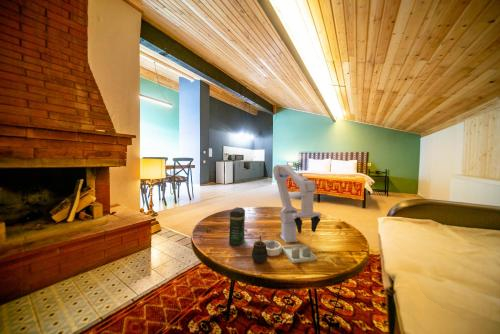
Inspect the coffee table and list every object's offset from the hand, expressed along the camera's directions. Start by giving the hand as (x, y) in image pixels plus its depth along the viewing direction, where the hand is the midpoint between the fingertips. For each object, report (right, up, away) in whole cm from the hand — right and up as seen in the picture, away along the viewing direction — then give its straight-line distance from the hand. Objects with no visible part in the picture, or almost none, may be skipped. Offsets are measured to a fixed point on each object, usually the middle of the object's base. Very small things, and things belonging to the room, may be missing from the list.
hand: (306, 231), depth 93 cm
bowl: (-18, -10, +1) cm, 20 cm away
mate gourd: (-24, -10, -8) cm, 27 cm away
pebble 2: (-1, -10, -5) cm, 11 cm away
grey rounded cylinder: (-18, -9, +1) cm, 20 cm away
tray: (-5, -10, -3) cm, 11 cm away
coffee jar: (-35, -9, +10) cm, 38 cm away
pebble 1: (-7, -10, -6) cm, 13 cm away
